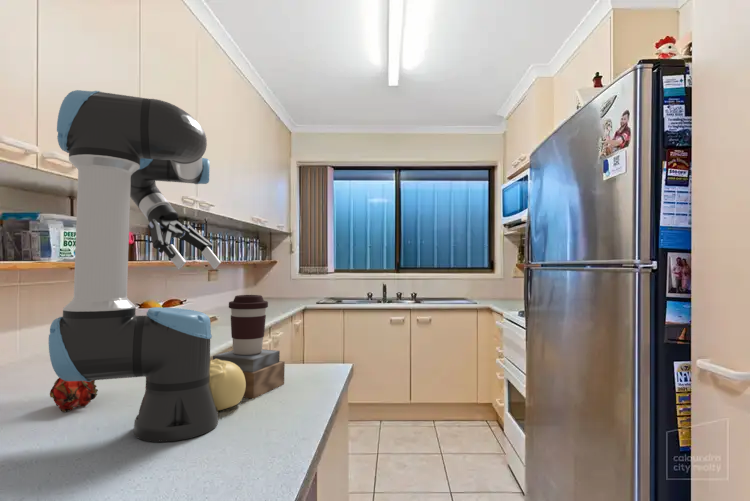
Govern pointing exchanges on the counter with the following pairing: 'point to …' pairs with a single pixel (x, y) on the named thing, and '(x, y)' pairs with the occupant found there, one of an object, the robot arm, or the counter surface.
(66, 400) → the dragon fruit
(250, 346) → the coffee cup
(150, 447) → the counter surface
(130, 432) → the counter surface
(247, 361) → the gray topped wooden block
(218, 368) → the pale yellow round lump
